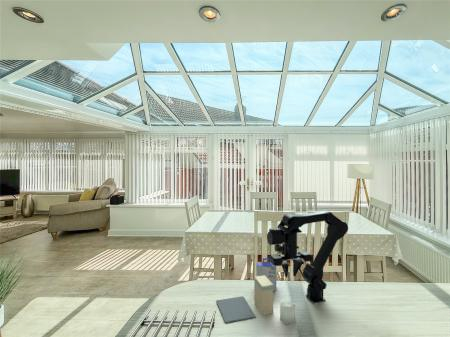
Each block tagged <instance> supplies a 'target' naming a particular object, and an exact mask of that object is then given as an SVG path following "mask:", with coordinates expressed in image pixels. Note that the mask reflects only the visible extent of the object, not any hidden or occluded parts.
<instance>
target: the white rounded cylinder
mask: <svg viewBox="0 0 450 337" xmlns="http://www.w3.org/2000/svg"><path fill="white" fill-rule="evenodd" d="M279 320H280V322H282V324H285V325H293V324H294V323H295V322H296V304H295V303H294V302H293V301H289V300H283V301H281V302H280V303H279Z"/></svg>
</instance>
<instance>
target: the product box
mask: <svg viewBox="0 0 450 337" xmlns="http://www.w3.org/2000/svg"><path fill="white" fill-rule="evenodd" d="M255 269H256V271H255V274H256V275H255V277H256V276H263V275H265V276H266V277H267V278H268V279H269V281H270V282H271V283H272V284H273V292H276V291H277V266H274V265H273V264H272V263H271V262H270V261H269V258H266V257H263V258H262V262H260V261H257V262H256V268H255Z"/></svg>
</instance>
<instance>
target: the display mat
mask: <svg viewBox="0 0 450 337" xmlns="http://www.w3.org/2000/svg"><path fill="white" fill-rule="evenodd" d="M216 304H217V307H218V309H219V311H220V314H221V316H222V319H223V321H224V323H225V324H228V323H229V324H230V323H233V322H239V321H245V320H249V319H250V320H251V319H256V318H257V316H256V315H255V313H254V311H253V310H252V308H251V306H250V305H249V303H248V302H247V300H246V298H245V297H244V295H241V296H237V297H236V296H235V297H229V298H222V299H216Z"/></svg>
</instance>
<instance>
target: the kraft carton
mask: <svg viewBox="0 0 450 337" xmlns="http://www.w3.org/2000/svg"><path fill="white" fill-rule="evenodd" d="M253 282H254V284H253V285H254V287H253V288H254V289H253V290H254V299H253V300H254V301H253V302H254V304H255V305H256V307H257V308H258V310H259V311H260V313H261V315H265V314H270V313H271V314H272V313H274V291H273V284H272V283H271V282H270V281H269V279H268V278H267V277H266V276H265V275H263V276H256V275H255V276H254V278H253Z"/></svg>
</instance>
